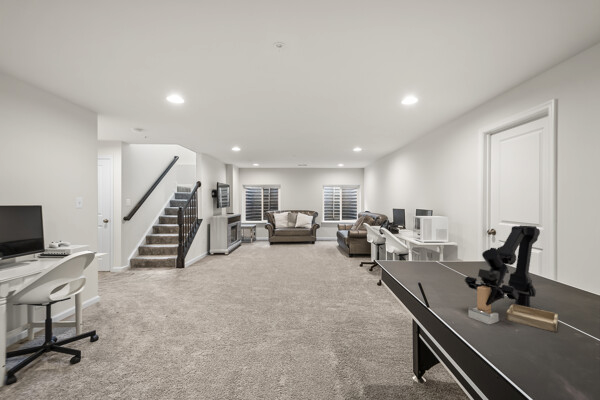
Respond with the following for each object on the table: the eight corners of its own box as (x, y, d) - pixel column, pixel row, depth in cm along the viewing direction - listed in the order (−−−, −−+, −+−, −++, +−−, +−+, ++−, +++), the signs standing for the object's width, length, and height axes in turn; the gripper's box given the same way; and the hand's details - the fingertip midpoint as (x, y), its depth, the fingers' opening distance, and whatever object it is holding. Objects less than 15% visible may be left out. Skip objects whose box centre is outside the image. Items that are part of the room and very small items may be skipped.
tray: (511, 311, 120) (511, 303, 120) (557, 321, 109) (557, 313, 109) (506, 320, 110) (505, 312, 110) (556, 333, 99) (556, 324, 99)
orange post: (483, 316, 113) (483, 285, 113) (491, 318, 110) (490, 287, 111) (477, 318, 111) (477, 287, 111) (485, 320, 108) (484, 289, 109)
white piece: (478, 314, 116) (478, 304, 116) (499, 321, 109) (499, 310, 109) (468, 317, 112) (468, 307, 112) (489, 325, 105) (489, 314, 105)
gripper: (466, 258, 121) (452, 285, 116) (514, 266, 105) (500, 299, 99) (476, 273, 125) (462, 301, 119) (524, 284, 108) (511, 316, 103)
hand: (482, 303), depth 110 cm, fingers closed on orange post, 3 cm apart
